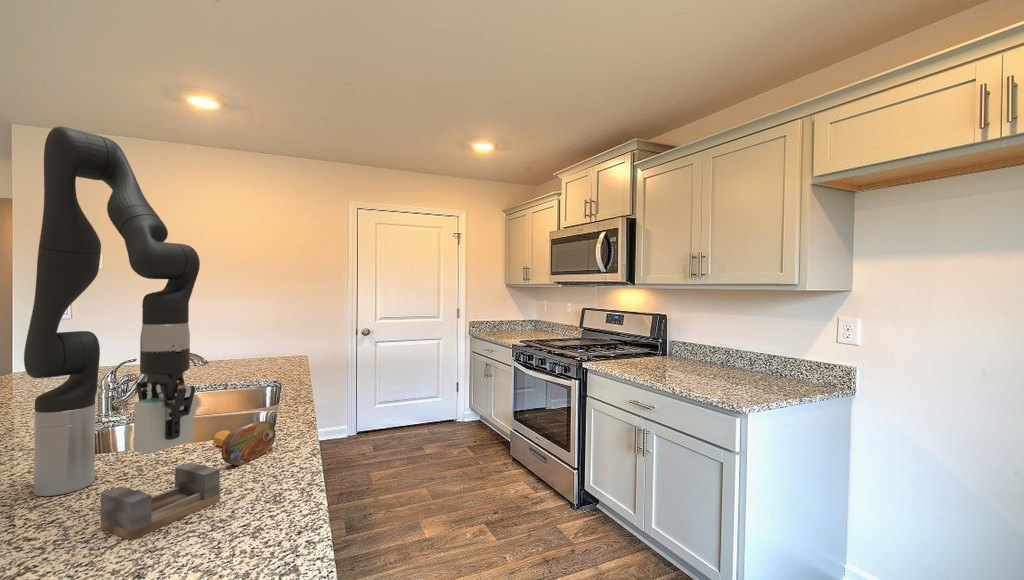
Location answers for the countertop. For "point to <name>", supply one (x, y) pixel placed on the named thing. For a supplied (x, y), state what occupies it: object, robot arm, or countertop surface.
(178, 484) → the rack
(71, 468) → the robot arm
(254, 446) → the tin
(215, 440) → the orange rounded piece
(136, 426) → the block
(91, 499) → the countertop surface
